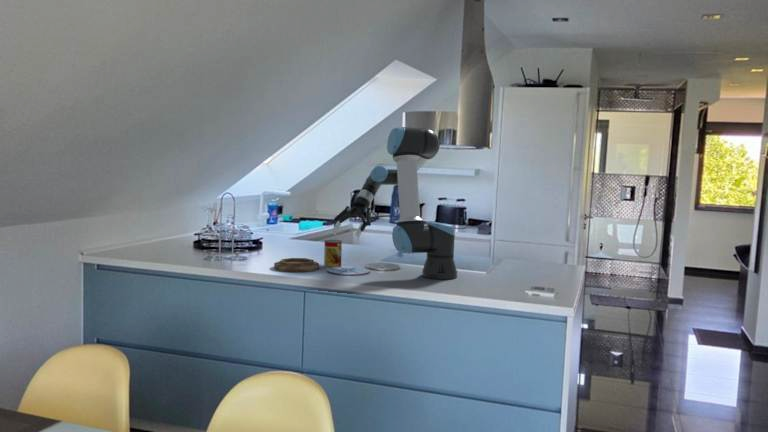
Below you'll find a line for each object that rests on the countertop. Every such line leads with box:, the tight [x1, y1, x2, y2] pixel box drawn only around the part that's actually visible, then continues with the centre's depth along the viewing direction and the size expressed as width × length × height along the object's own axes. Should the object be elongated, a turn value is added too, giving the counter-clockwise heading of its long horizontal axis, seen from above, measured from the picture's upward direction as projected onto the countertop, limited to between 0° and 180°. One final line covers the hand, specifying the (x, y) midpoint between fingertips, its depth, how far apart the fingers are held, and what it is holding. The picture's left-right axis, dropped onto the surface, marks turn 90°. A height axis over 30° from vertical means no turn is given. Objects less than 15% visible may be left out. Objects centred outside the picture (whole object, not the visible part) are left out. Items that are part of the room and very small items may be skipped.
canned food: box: [323, 238, 343, 269], centre depth 288 cm, size 8×8×12 cm
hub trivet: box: [273, 257, 320, 273], centre depth 282 cm, size 20×20×3 cm
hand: (345, 234), depth 296 cm, fingers open, 13 cm apart
